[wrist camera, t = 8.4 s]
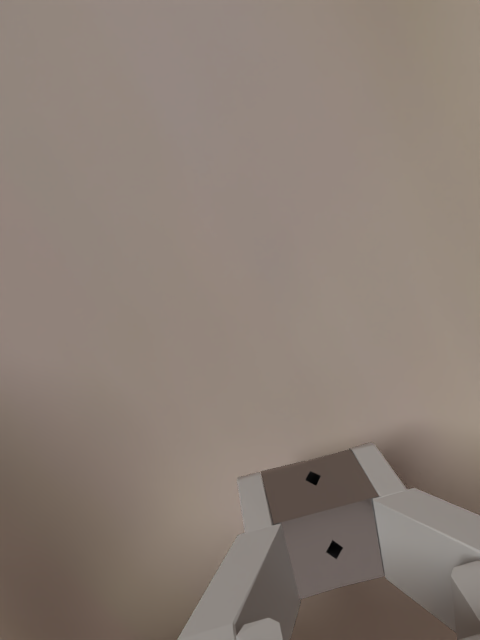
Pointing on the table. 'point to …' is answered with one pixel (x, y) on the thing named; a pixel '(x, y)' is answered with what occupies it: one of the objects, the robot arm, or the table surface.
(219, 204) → the table surface
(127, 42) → the table surface
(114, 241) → the table surface
